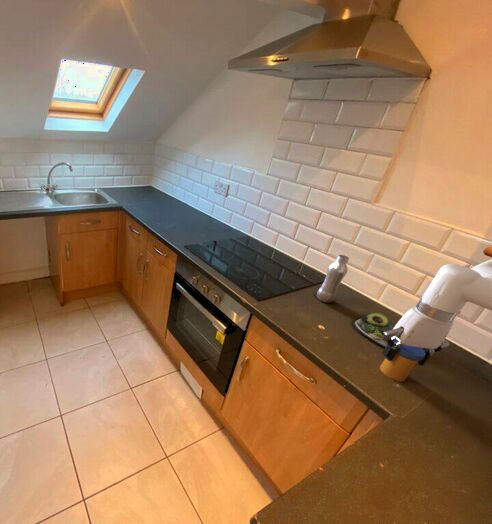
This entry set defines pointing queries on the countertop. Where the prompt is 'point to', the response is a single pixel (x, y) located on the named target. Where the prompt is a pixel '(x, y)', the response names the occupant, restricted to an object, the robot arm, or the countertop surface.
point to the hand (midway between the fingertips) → (401, 359)
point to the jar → (398, 367)
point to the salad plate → (374, 327)
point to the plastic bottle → (333, 279)
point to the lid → (411, 352)
